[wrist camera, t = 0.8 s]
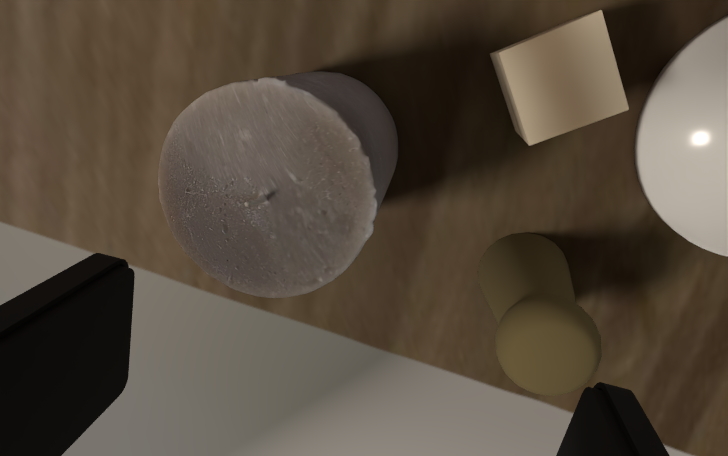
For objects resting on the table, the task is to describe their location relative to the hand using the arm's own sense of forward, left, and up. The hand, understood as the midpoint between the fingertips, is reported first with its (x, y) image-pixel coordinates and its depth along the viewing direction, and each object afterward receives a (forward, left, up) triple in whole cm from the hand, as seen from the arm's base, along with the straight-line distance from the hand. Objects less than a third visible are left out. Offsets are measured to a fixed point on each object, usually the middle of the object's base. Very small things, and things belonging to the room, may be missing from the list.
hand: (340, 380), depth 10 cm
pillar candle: (+5, -3, -25) cm, 26 cm away
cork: (-4, +10, -25) cm, 28 cm away
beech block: (-9, -2, -25) cm, 27 cm away
